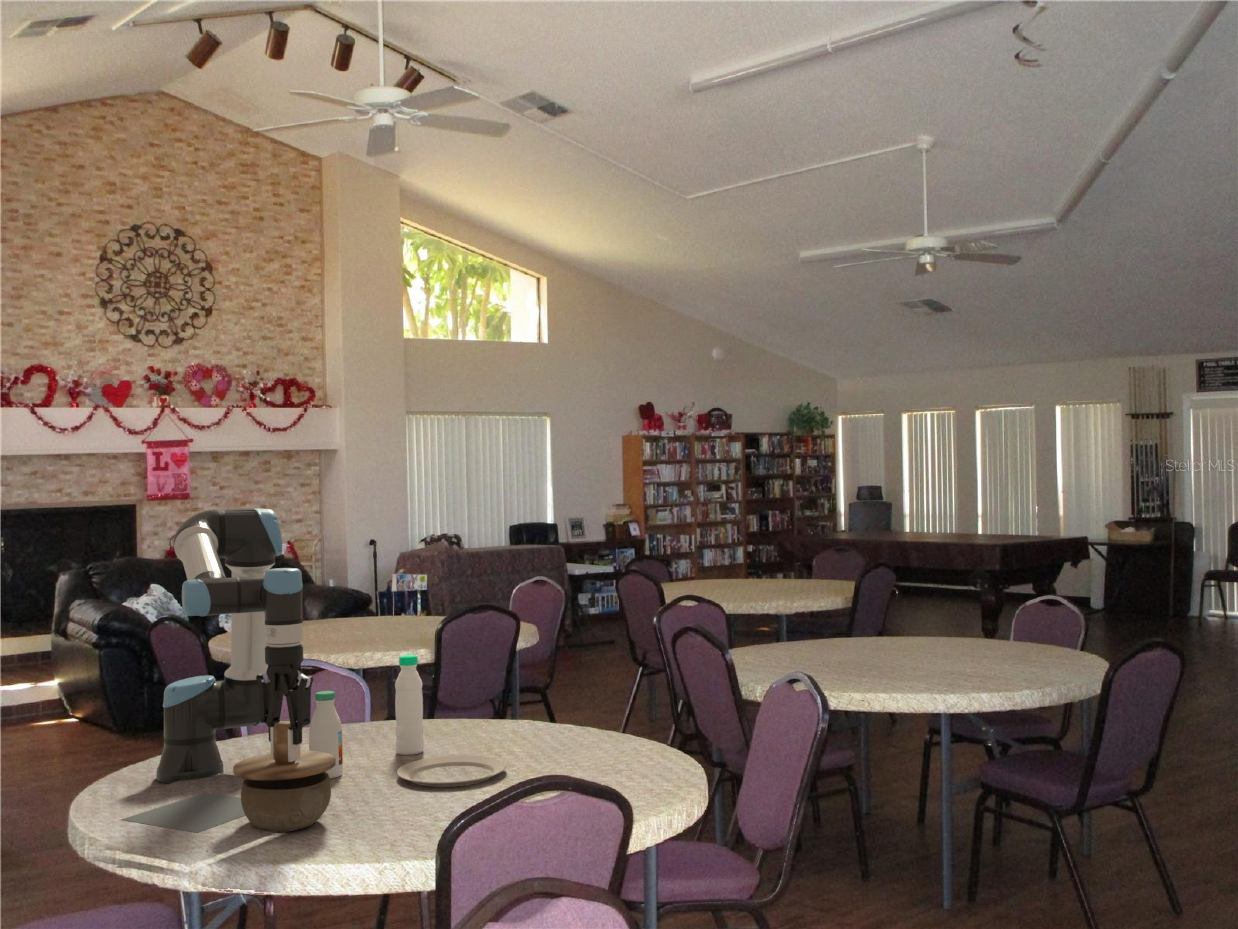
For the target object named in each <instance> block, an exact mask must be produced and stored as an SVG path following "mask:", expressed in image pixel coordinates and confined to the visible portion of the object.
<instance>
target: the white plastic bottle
mask: <svg viewBox="0 0 1238 929" xmlns="http://www.w3.org/2000/svg"><path fill="white" fill-rule="evenodd" d="M418 662H419V661H418V656H417V655H414V654H405V655H401V656H400V657H399V659H398V665H399V667H400V672H399V673H398V675H397V678H396V681H395V682H394V689H395V698H394V701H395V703H394V705H395V708H394V709H395V723H396V726H395V737H396V741H395V751H396V753H397V754H398V755H400V756H413V755H417V754H421V753H422V752H424V749H425V748H424V747H425V746H424V737H423V736H424V726H423V719H424V718H423V717H424V704H423V703H424V698H423V681H422V678H421V677H420V675H419V674H420V673H419V672H418V671H417V666H418Z"/></svg>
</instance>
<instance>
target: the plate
mask: <svg viewBox="0 0 1238 929" xmlns="http://www.w3.org/2000/svg"><path fill="white" fill-rule="evenodd" d="M452 766H453V767H455V766H456V767H457V766H466V767H467V766H469V767H478V768H483V769H486V770H489V771H490V772H491V773H492V774H490V775H488V776H484V777H480V778H475V779H469V780H461V781H459V780H458V781H444V782H437V781H436V782H435V781H433V782H432V781H430V782H429V781H421V780H420V781H419V780H414V779H412V776H413V775H415V774H417V773H419V772H423V771H426V770H430V769H434V768H435V769H436V768H441V767H452ZM505 769H506V763H505V762H504V761H502V760H500V759H498V758H494V757H490V756H483V755H471V754H469V755H468V754H465V755H463V754H462V755H461V754H458V755H441V756H432V757H429V758H423V759H418V760H414V761H411V762H408V763H406V764H404V765H402V766H400V767H399V768H398V769H397V772H396V774H397V776H398V777H399V778H401V779H403V780H406V781H409V782H411V783H413V784H415V785H419V786H422V787H424V786H425V787H431V788H452V787H453V788H454V787H462V786H463V787H464V786H468V785H469V786H470V785H475V784H479V783H481V782H482V783H483V782H485V781H487V780H489V779H491V778H492V777H494V776H496V775H498V774H501V773H502V772H503V771H504V770H505Z"/></svg>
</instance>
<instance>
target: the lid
mask: <svg viewBox="0 0 1238 929" xmlns="http://www.w3.org/2000/svg"><path fill="white" fill-rule="evenodd" d="M281 721H282V722H277V723H275V724H274V731H275V759H274V760H271V752H270V753H264V754H260V755H255V756H251V757H247V758H245V759H242V760H240V761H238V762H236V763H235V764H234V765H233V768H232V772H233V775H234V776H236V777H237V778H240V779H243V780H245V779H249V780H286V779H295V778H301V777H307V776H311V775H316V774H319V773H322V772H325V771H328V770H330V769H331V768H333V767H334V766H335V765H336V758H335V756H334V755H332V754H329V753H325V752H318V751H309V750H300V759H299V760H295V761H292V762H288V727H291V725H290V720H281Z"/></svg>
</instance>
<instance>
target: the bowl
mask: <svg viewBox="0 0 1238 929" xmlns="http://www.w3.org/2000/svg"><path fill="white" fill-rule="evenodd" d="M331 795H332V785H331V779H330V778H329V775H328V773H326V772H322V773H319V774H316V775H311V776H307V777H301V778H295V779H286V780H249V779H243V781H242V786H241V790H240V798H241V804H242V808H243V811H244V813H245V815H246V816H245V817H246V818H247V820H248V821H249V822H250V823H251V824H252V825H253V826H254V827H256V828H257V829H260V830H264V831H270V832H272V831H273V832H275V833H287V832H293V831H298V830H302V829H304V828H308V827H310V826H312V825H314V824H315V823H316V822H317V821H319V819H320V818H321V817H322V816H323V815H324V813H325V812H326V810H327V809H328V807H329V804H330V802H331V797H332V796H331Z"/></svg>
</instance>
